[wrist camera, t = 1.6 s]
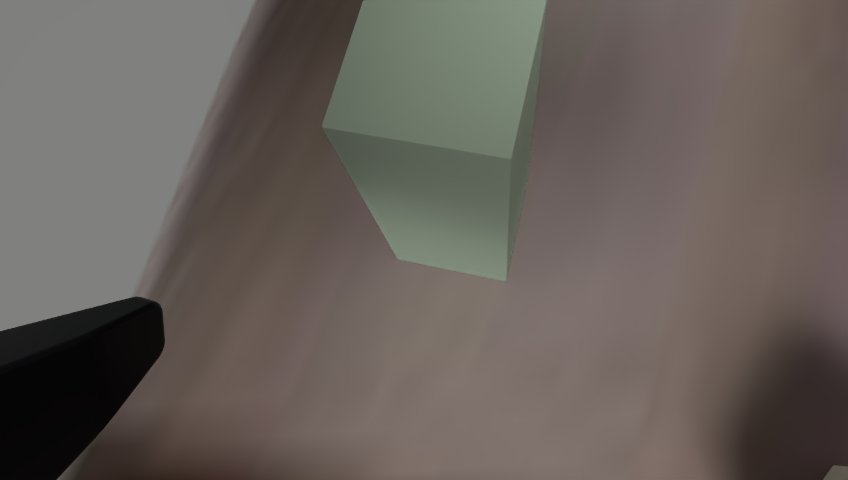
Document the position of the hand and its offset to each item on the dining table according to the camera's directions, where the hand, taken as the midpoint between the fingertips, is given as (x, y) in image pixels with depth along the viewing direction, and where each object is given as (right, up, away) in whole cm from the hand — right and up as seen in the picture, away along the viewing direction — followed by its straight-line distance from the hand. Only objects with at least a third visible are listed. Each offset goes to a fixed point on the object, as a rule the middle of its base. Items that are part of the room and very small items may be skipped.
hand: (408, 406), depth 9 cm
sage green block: (+2, +3, +15) cm, 16 cm away
